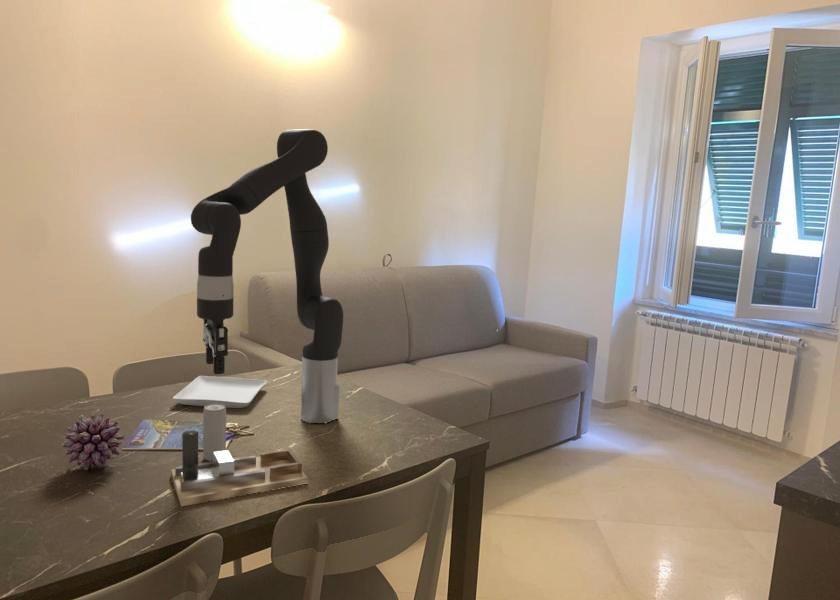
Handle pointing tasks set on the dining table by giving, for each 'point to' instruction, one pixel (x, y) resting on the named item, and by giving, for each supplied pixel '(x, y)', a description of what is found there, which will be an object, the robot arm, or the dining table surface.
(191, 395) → the salad plate
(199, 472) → the press block
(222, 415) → the beverage can
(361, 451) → the dining table surface
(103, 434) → the flower
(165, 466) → the dining table surface
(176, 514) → the dining table surface
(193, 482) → the wooden tray
